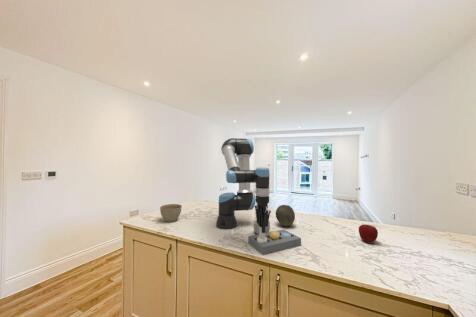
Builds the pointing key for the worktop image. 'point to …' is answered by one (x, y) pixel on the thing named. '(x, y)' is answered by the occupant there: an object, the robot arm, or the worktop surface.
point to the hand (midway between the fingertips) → (262, 237)
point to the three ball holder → (274, 243)
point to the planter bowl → (170, 212)
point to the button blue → (286, 234)
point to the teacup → (256, 227)
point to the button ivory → (261, 240)
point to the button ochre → (274, 235)
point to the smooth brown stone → (285, 215)
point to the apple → (368, 233)
